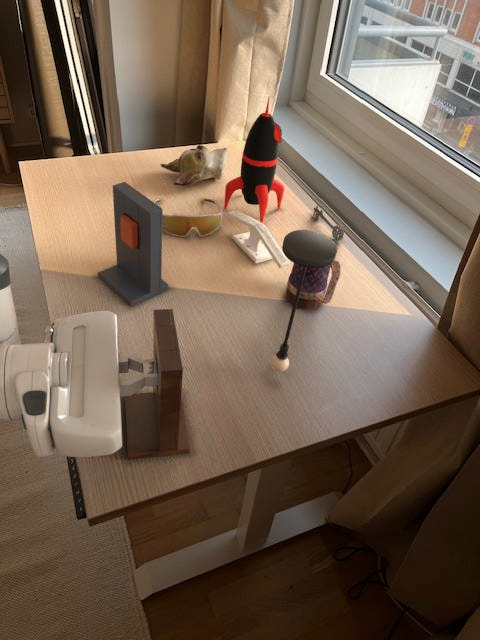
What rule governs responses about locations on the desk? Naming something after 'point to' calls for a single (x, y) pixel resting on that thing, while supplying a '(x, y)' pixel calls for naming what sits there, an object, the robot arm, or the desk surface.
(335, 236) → the key
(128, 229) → the switch far
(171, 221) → the sunglasses
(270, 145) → the toy rocket
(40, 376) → the robot arm
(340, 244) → the desk surface
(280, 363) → the light fixture
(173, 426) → the panel near
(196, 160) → the ceramic sculpture
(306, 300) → the mug
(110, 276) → the panel far
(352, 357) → the desk surface
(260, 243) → the t-shaped cleat
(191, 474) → the desk surface
